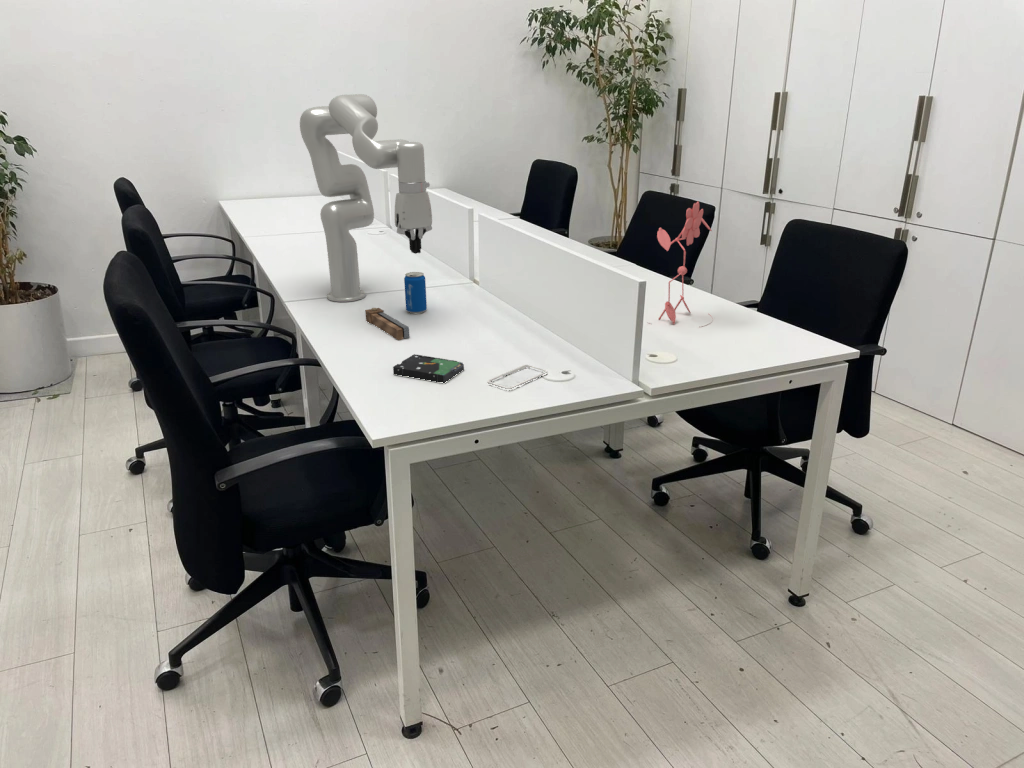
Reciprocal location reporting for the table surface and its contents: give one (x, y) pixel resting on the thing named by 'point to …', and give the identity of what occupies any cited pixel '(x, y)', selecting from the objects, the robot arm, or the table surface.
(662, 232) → the figurine
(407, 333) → the long gray metal bar
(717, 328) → the table surface
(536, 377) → the phone case
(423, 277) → the beverage can
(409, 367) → the disk drive
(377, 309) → the brown bar with block
